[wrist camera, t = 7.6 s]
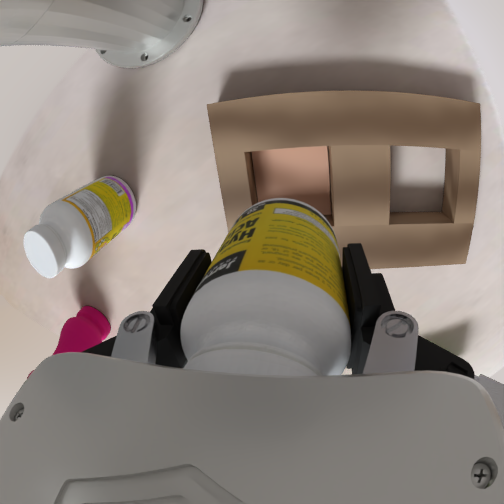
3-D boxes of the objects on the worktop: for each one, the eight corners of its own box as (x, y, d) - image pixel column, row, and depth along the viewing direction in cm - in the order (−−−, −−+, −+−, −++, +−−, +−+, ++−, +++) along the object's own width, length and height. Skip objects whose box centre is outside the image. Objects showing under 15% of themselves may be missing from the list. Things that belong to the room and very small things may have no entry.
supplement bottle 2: (257, 174, 13) (166, 322, 4) (356, 228, 13) (410, 413, 5) (214, 262, 16) (133, 422, 7) (301, 304, 16) (286, 475, 7)
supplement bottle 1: (102, 229, 32) (34, 286, 21) (88, 179, 29) (8, 223, 18) (145, 225, 31) (75, 290, 20) (131, 169, 28) (46, 214, 17)
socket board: (217, 104, 23) (206, 104, 21) (464, 102, 18) (479, 103, 16) (242, 258, 31) (236, 273, 28) (454, 249, 26) (465, 263, 23)
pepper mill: (78, 295, 40) (5, 383, 22) (114, 316, 40) (45, 415, 23) (80, 322, 43) (19, 403, 26) (112, 342, 44) (56, 431, 26)
